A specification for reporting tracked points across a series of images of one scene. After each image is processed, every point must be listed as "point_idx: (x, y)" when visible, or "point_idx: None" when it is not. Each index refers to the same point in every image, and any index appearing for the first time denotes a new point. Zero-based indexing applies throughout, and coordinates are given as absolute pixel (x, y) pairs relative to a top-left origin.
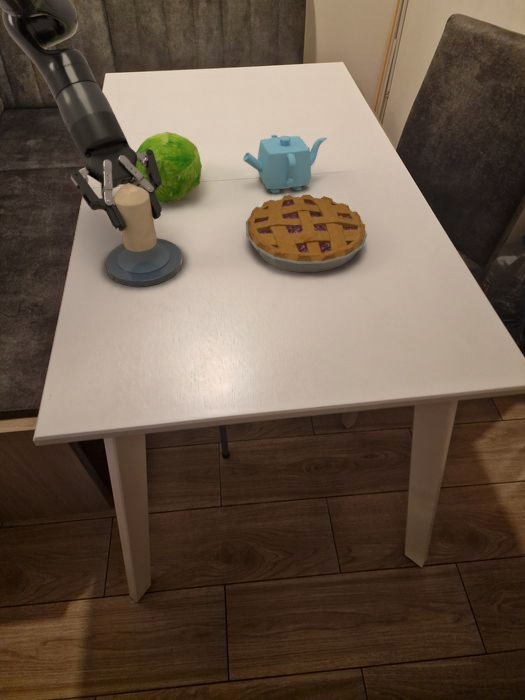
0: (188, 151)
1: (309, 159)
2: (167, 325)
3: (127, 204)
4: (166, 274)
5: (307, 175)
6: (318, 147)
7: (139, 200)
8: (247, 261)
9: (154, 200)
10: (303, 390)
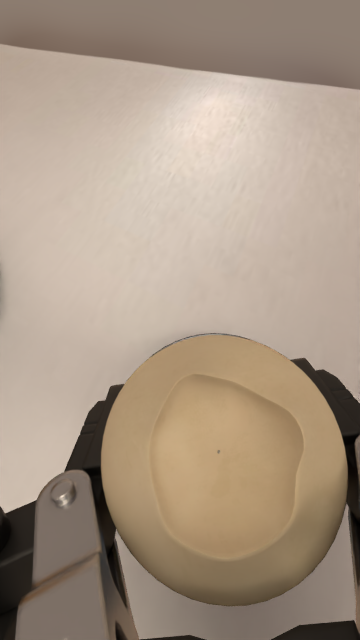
0: None
1: None
2: (240, 220)
3: (270, 353)
4: (188, 337)
5: None
6: None
7: (192, 345)
8: (11, 324)
9: (97, 427)
10: (131, 77)
